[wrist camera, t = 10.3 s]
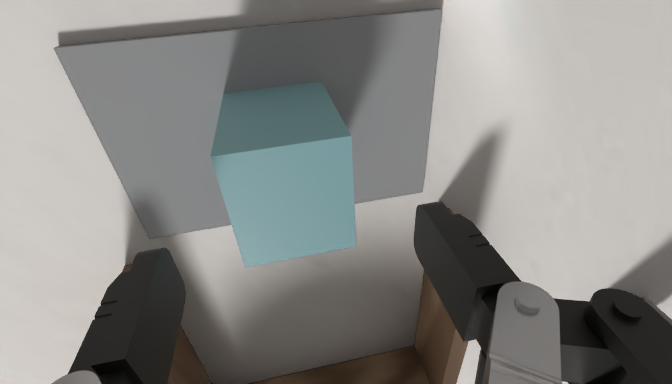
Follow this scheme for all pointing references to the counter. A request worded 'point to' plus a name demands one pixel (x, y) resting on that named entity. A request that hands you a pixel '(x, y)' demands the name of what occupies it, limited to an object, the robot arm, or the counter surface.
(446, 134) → the counter surface
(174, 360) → the open-front crate
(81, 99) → the rubber mat
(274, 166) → the teal block
